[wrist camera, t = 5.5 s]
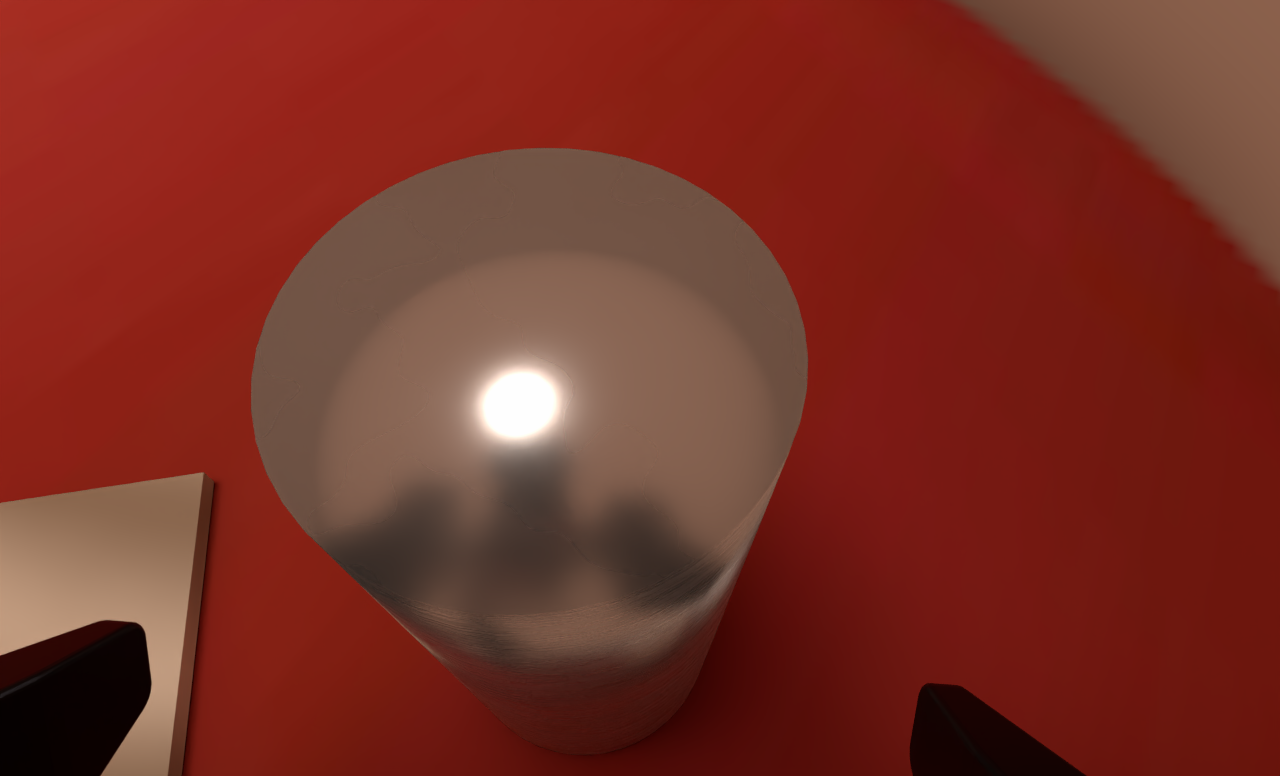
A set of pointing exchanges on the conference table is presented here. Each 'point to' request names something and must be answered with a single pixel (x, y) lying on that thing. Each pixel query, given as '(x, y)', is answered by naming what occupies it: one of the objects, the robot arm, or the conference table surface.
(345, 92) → the conference table surface
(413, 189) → the steel flask
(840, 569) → the conference table surface
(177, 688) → the beige square tile
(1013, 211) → the conference table surface
